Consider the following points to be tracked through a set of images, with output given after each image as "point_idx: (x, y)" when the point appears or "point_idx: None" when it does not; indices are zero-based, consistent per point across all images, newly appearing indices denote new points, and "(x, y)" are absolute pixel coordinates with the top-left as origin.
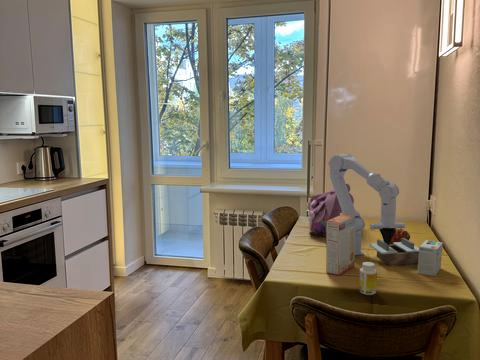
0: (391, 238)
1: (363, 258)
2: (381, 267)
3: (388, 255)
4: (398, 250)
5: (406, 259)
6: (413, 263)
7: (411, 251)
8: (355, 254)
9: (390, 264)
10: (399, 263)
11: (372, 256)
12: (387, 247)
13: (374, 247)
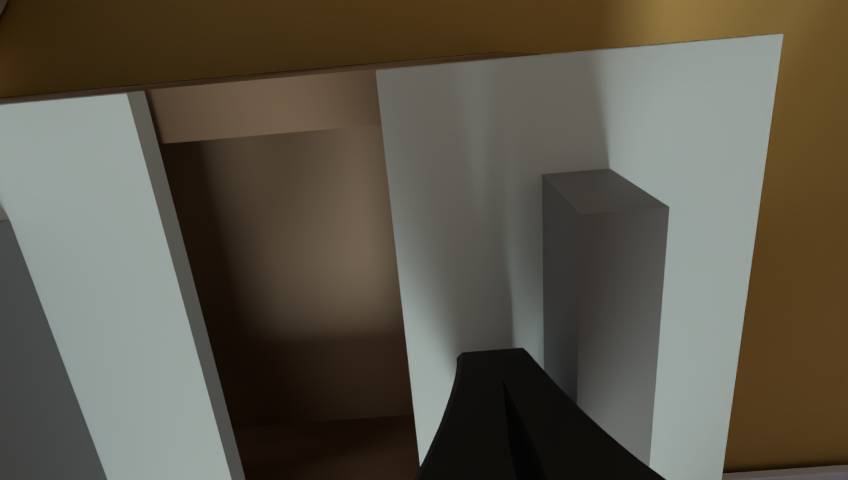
0: (435, 465)
1: None
2: (652, 9)
3: None
4: None
5: (216, 80)
6: (126, 86)
7: (35, 102)
8: (752, 476)
9: (500, 52)
10: (351, 66)
11: None
12: (600, 189)
13: (728, 385)
